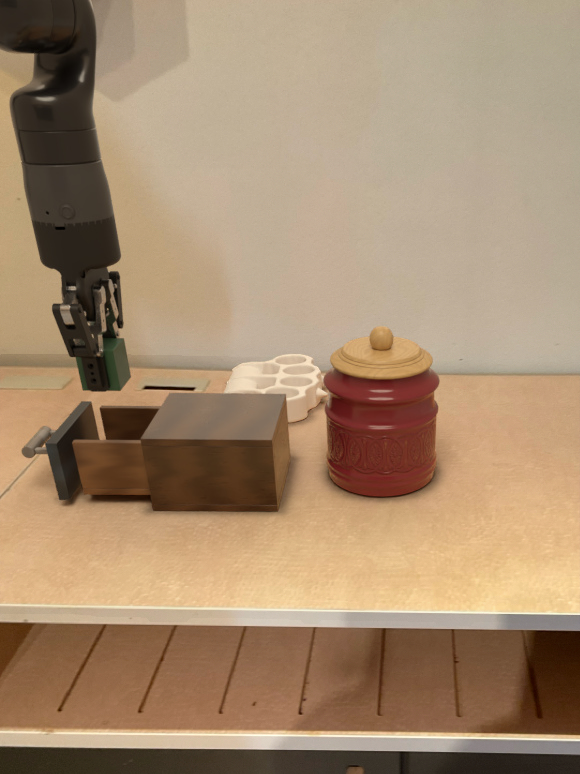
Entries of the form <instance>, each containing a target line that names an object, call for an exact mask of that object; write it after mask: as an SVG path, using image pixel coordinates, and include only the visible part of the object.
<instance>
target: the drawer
mask: <svg viewBox="0 0 580 774" xmlns="http://www.w3.org/2000/svg"><path fill="white" fill-rule="evenodd" d="M160 407H161V405H100V406H99V412H100V417H101V422H102V427H103V432H104V436H105V439H100V434H99V430H98V426H97V421H96V417H95V412H94V406H93V403H92V401H91V400H89V401H88V400H87V401H86V400H85V401H84V400H82V401H80V402H79V403H78V404H77V406H76V407H75V408H74V409H73V410H72V412H71V413H70V414H69V415H68V416H67V417H66V418H65V420H63V422H62V423H61V425H59V427H57V429H52V428H51V427H49V426H47V425H45V426H44V425H43V426H41V427H40V428H39V429H38V430H37V432H35V434H34V435H33V436H32V437H31V438H30V439H29V440H28V441H27V443H26V444H24V446H23V447H22V448H21V455H22V456H23V457H24V458H26V459H32V458H34V457H35V456H36V455H47V457H48V461H49V465H50V469H51V473H52V477H53V481H54V484H55V488H56V493H57V496H58V500H59V501H71V500H72V498H73V497H74V495H75V494H76V492H77V491H78V490H79V488H80V487H82V492H83V495H85V496H86V495H87V496H88V495H89V496H90V495H91V496H93V495H95V496H96V495H97V496H98V495H99V496H103V495H104V496H150V490H149V485H148V479H147V474H146V468H145V463H144V457H143V452H142V446H141V441H140V439H141V437H142V435H143V434H144V432H145V431H146V429H147V428H148V426H149V424H150V423H151V421H152V420H153V418H154V416H155V415H156V413H157V412H158V410H159V409H160Z"/></svg>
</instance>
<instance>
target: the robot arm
mask: <svg viewBox="0 0 580 774" xmlns="http://www.w3.org/2000/svg"><path fill="white" fill-rule="evenodd" d="M97 29H98V28H97V18H96V14H95V9H94V5H93V2H92V0H0V50H1V51H3V52H6V53H11V54H13V55H14V54H15V55H31V54H33V68H32V69H33V70H32V71H33V72H32V77H31V78H32V79H31V80H30V82H29V83H27V84H25V85H23V86H21V87H18V89H16V90H13V92H12V93H11V95H10V96H9V100H8V101H9V102H8V106H9V113H10V118H11V123H12V128H13V131H14V136H15V140H16V145H17V149H18V154H19V157H20V161H21V162H20V163H21V171H22V182H23V189H24V195H25V199H26V203H27V207H28V211H29V215H30V221H31V224H32V229H33V233H34V238H35V243H36V248H37V252H38V255H39V261H40V263H41V264H42V265H43V266H44V267H46V268H48V269H50V270H55V271H57V272H58V273H59V274H60V276H61V277H60V281H61V286H60V289H61V290H60V293H61V294H60V295H61V301H62V302H61V303H57V302H56V303H52V305H51V312H52V315H53V318H54V320H55V323H56V325H57V328H58V331H59V333H60V335H61V338H62V341H63V344H64V346H65V349H66V352H67V355H68V356H69V358H76V357H81V360H82V365H83V370H84V374H85V379H86V384H87V388H88V390H90V391H89V392H92V393H93V392H95V393H96V392H97V393H105V392H109V391H108V389H109V388H110V381H109V376H108V371H107V366H106V361H105V356H104V349H103V339H102V338H121V337H120V336H121V332H120V329H121V330H122V329H124V322H125V321H124V313H123V301H122V288H121V287H122V286H121V285H122V284H121V275H120V272H119V271H118V270H109V269H108V267H111V266H114V265H116V264H117V263H119V261H120V260H121V258H122V251H121V246H120V240H119V235H118V228H117V223H116V218H115V211H114V207H113V206H114V205H113V200H112V195H111V189H110V184H109V181H108V176H107V174H106V171H105V168H104V164H103V160H102V153H101V147H100V141H99V135H98V130H97V126H96V120H95V116H94V115H95V114H94V99H95V98H94V97H95V86H96V68H97V67H96V65H97V44H98V32H97V31H98V30H97ZM93 338H94V340H93ZM84 343H85V345H84Z"/></svg>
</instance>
